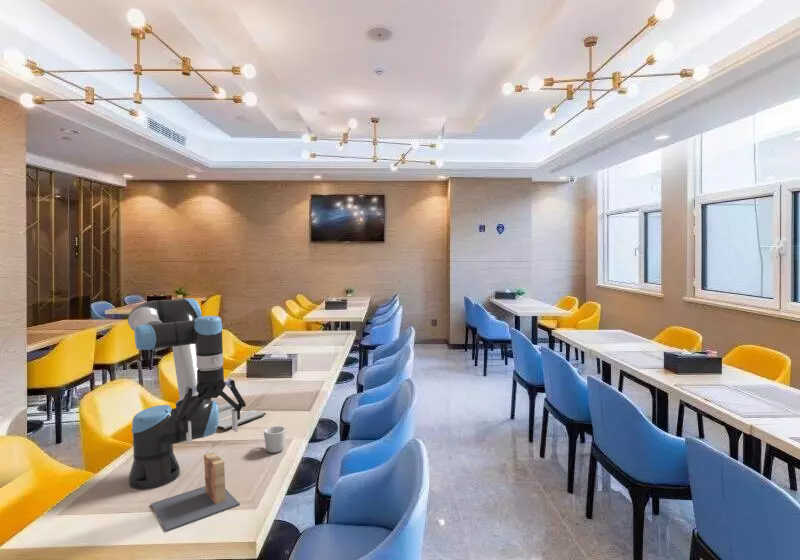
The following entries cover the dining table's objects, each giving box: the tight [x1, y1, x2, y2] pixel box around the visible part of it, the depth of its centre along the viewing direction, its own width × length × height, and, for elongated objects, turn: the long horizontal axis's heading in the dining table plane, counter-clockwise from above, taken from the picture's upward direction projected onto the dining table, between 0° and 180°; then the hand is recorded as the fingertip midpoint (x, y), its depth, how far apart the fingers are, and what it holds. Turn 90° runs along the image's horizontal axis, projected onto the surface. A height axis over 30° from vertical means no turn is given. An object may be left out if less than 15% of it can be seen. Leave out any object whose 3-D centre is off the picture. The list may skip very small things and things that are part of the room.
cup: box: [263, 425, 286, 454], centre depth 178 cm, size 11×8×8 cm
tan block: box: [203, 451, 226, 504], centre depth 142 cm, size 9×3×12 cm, turn 40°
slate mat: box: [150, 485, 241, 533], centre depth 139 cm, size 18×20×1 cm
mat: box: [217, 400, 267, 432], centre depth 212 cm, size 23×24×5 cm
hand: (212, 436), depth 142 cm, fingers open, 13 cm apart
